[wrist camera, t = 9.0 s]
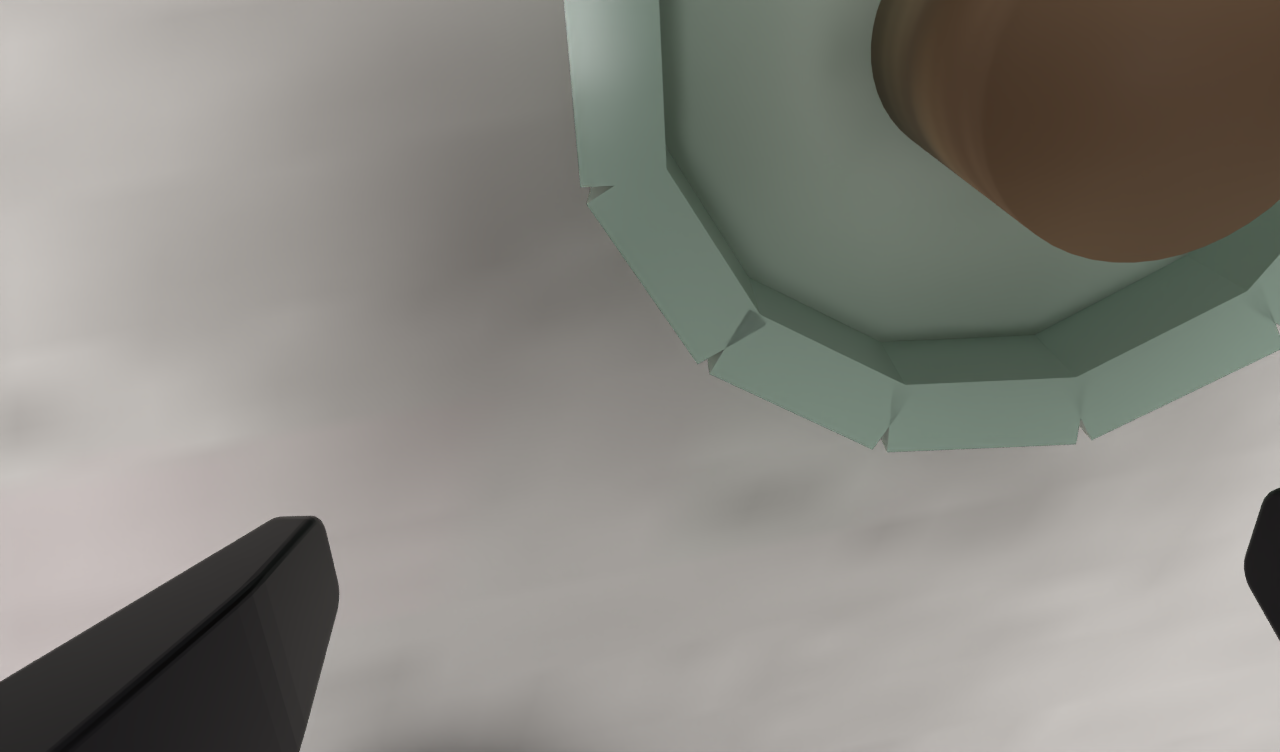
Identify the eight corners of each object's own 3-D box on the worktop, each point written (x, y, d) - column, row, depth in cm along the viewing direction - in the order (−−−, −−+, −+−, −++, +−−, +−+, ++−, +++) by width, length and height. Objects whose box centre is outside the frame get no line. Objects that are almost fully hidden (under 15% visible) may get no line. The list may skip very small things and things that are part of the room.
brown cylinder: (1095, 153, 17) (1309, 253, 11) (864, 165, 17) (962, 271, 11) (1141, -110, 15) (1426, -141, 9) (878, -93, 15) (1006, -113, 9)
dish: (1277, 368, 19) (1369, 431, 17) (611, 398, 20) (605, 464, 17) (1554, -547, 13) (1774, -666, 10) (540, -463, 13) (513, -557, 11)
